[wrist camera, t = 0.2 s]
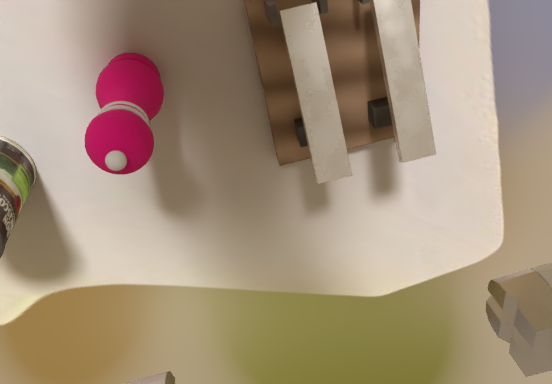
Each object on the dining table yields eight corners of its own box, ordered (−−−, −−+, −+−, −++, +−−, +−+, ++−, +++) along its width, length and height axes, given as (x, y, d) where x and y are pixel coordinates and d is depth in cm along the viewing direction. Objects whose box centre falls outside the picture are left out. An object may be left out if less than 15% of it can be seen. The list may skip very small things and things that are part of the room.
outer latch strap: (368, -9, 49) (371, -11, 47) (403, -17, 49) (407, -20, 48) (399, 161, 53) (402, 162, 51) (431, 153, 53) (436, 154, 52)
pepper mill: (176, 86, 56) (176, 174, 40) (129, 116, 57) (110, 213, 41) (137, 36, 51) (120, 111, 35) (88, 69, 53) (48, 157, 37)
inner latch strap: (278, 13, 48) (279, 10, 47) (314, 4, 48) (316, 2, 47) (316, 182, 52) (318, 184, 51) (349, 173, 52) (352, 175, 51)
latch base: (243, -3, 51) (250, 10, 46) (413, -42, 52) (436, -33, 47) (277, 158, 64) (285, 180, 60) (411, 124, 65) (429, 144, 60)
